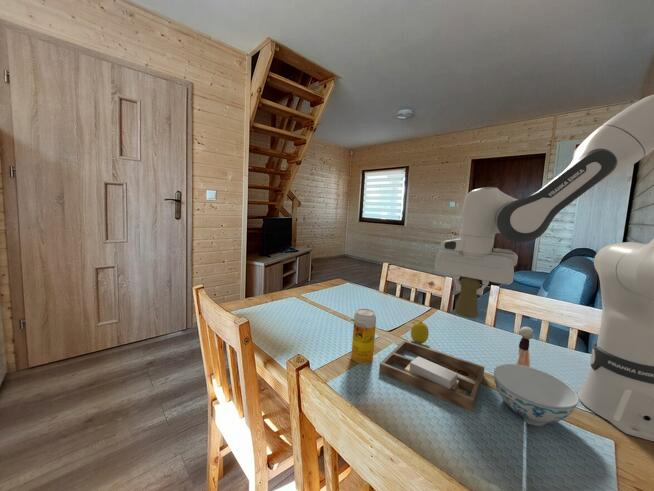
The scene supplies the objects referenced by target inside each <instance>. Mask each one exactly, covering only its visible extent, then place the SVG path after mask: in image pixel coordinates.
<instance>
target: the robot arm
mask: <svg viewBox="0 0 654 491" xmlns="http://www.w3.org/2000/svg"><path fill="white" fill-rule="evenodd" d="M653 151H654V94H650V95H648V96H646V97H644V98H641V99H640V100H637V101H636V102H635V103H633V104H631V105H629V106H627V107H625V109H623V110H622V111H620V112H618V113H617V114H616V115H614V116H612V117H611V118H609V120H607V121H606V122H604V123H603V124H601V125H600V126H599V127H598V128H596V129H595V130H594V131H592V132H591V133H590V134H589V135H588V136H587V137H586V138H585V139H584V140H583V141H582V142H581V143H580V144H579V145H578V146H577V147H576V149H575V150H574V151H573V153H572V160H571V162H570V163H569V165H568V166H567V167H566V168H565V169H564V170H563V171H561V172H560V173H559V174H558V175H556V177H554V178H553V179H551V180H550V181H549V182H547V183H546V184H545V185H543V187H541V188H540V189H539V190H538V191H536V192H533V193H532V194H531V195H529V196H526V197H521V198H519V199H517V198H514V197H512V196H510V195H508V194H506V193H504V192H503V191H501V190H500V189H499V188H498V187H494V186H487V187H480V188H476V189H472V190H471V191H469V192H468V193H467V194H466V195H465V198H464V201H463V205H462V210H461V216H460V217H461V218H460V221H461V228H460V230H459V233H458V237H457V238H452V239H446V240H443V241H441V243H440V248H441V249H440V250H438V252H437V253H436V257H435V260H434V265H433V266H434V267H433V268H434V270H435V272H436V273H440V274H445V275H450V276H452V280H453V282H454V284H455V291H457V292H460V291H461V288H462V287H461V285H460V281H459V279H461V278H462V277H467V278H473V279H478V280H479V281H482V282H481V283H482V286H480V287H479V289H477V292H476V295H477V296H480V297H481V296H483V293H484V289H485V288H486V287H487V286H488V285H489V284H490V283H489V282H491V283H495V284H496V283H497V284H502V285H507V286H509V285H510V284H512V283H513V282H514V271H515V268H514V267H516V266H517V264H518V258H519V255H518V254H517V253H516V252H514V251H513V250H512V249H503V248H500V247H494V242H495V237H496V234H500V235H501V236H502V237H504V238H505V239H507V240H509V241H511V242H514V243H515V242H516V243H528V242H532V241H534V240H537V239H538V238H539V237H542V235H544V233H546V231H547V229H548V228H549V226H550V225H551V223H552V221H553V220H554V218H555V217H556V216H557V215H558V214H559V213H560V212H561V211H562V210H564V209H565V208H566V207H568V205H570V204H571V203H572V202H574V201H575V200H577V199H578V198H580V197H581V196H582V195H583V194H585V193H586V192H587V191H589V190H590V189H592V188H593V187H594V186H596V185H597V184H599V183H602V182H603V181H605V180H607V179H609V178H612V177H614V176H615V175H617V174H620V173H621V172H623V171H625V170H627V169H628V168H630V167H631V166H633V165H635V164H636V163H638V162H639V161H640V160H642V159H643V158H646V156H648V155H649V154H651V153H652V152H653ZM593 267H594V270H595V271H596V273H597V275H598V278H599V284H600V295H601V305H602V306H601V308H602V309H601V311H602V313H601V320H600V326H599V332H598V337H597V342H595V343H594V345H593V348H592V350H591V353H590V354H591V355H590V361H589V362H590V368H589V372H588V374H587V377H586V379H585V381H584V382H583V384H582V386H581V388H580V389H579V390H578V392H577V393H576V394H577V396H578V400H579V401H580V402H581V403H582V405H584V406H585V407H586V408H588V409H589V410H590V411H592V412H593V413H595V414H596V415H598V416H600V417H602V418H603V419H605V420H607V421H608V422H610V423H611V424H612V425H613V426H615V427H616V428H617V429H618V430H620V431H621V432H623V433H625V434H627V435H629V436H633V437H636V438H639V439H644V440H647V441H650V442H654V237H653V238H652V240H650V242H648V243H643V242H635V241H628V242H626V241H625V242H617V243H616V242H615V243H613V244H608V245H606V246H603V247H602V248H601V249H599V250H598V251H597V253H596V254H595V256H594V259H593ZM460 277H461V278H460Z"/></svg>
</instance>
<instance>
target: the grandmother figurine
mask: <svg viewBox="0 0 654 491" xmlns="http://www.w3.org/2000/svg"><path fill="white" fill-rule="evenodd" d="M518 332H519V333H520V334H521V339H520V341H519V344H518V358H517V363H516V364H517V365H523V366H527V367H531V366H530V365H531V360H530V340H531V339H532V338H533V332H534V329H533V328H531V327H528V326H522V327H521V328H520V329H519V330H518Z"/></svg>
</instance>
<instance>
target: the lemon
mask: <svg viewBox="0 0 654 491" xmlns="http://www.w3.org/2000/svg"><path fill="white" fill-rule="evenodd" d="M410 328H411V329H410V337H411V340H412V341H413V343H416V344H417V343H418V344H424V343H426V342H427V341H428V338H429V327H428V326H427V324H426V323H424V322H423V321H421V320H420V321H417V322H415V323H413V324H412V327H410Z"/></svg>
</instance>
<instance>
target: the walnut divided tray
mask: <svg viewBox="0 0 654 491" xmlns="http://www.w3.org/2000/svg"><path fill="white" fill-rule="evenodd" d="M405 351H407V352H410V353H412V354H416V355H418V356H420V357H423V358H424V357H425V358H427V359H430V360H433V361H435V362H438V363H440V364H444V365H447V366H450V367H453V368H455V369H458V370H461V371H463V372H464V371H465V372H467V373H470V374H473V375H475V376H477V377H476V379H475V381H472V380H470V379H467V378H465V377H462V376H459V375H457V380H459V387H458V388H459V389H462V390H465V391H467V392H466V393H469V394H470V396H468V395H463V394H461V393H458V392H456V391H453V390H451V389H448V388H446V387H443V386H441V385H438V384H436V383H433V382H431V381H428V380H426V379H423V378H420V377H418V376H415V375H413V374H410V373H408V372H405V370H403V369H399V368H398V367H395V366H392V364H395V365H397V366H400V367H403V368H404V369H405V368H406V367H407V366H408V365H409V364H410V362H411V361H413V360H414V359H412V358H410V357H407V356H404V355H402V354H403V353H404V352H405ZM485 368H486V367H485V366H483V365H481V364H478V363H475V362H472V361H469V360H465V359H463V358H459V357H457V356H453V355H451V354H447V353H445V352H442V351H439V350H435V349H432V348H430V347H427V346H423V345H419V344H417V343H415V342H411V341H408V340H405V339H404V340H403V341H401V343H399V344H398V345H397V346H396V347H395V348H394V349H393V350H392V351H391V352H390V353H389V354H388V355H387V356H386V357H385V358H384V359H383V360H381V362H379V369H378V370H379V371H378V372H379V374H382V375H384V376H386V377H389V378H391V379H394V380H395V381H398V382H401V383H403V384H405V385H408V386H411V387H413V388H415V389H418V390H420V391H422V392H425V393H427V394H429V395H431V396H434V397H436V398H438V399H440V400H444V401H446V402H448V403H450V404H453V405H455V406H457V407H460V408H463V409H465V410H467V411H469V412H473V409H474V406H475V402H476V400H477V397H478V394H479V391H480V388H481V385H482V382H483V378H484V375H485Z"/></svg>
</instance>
